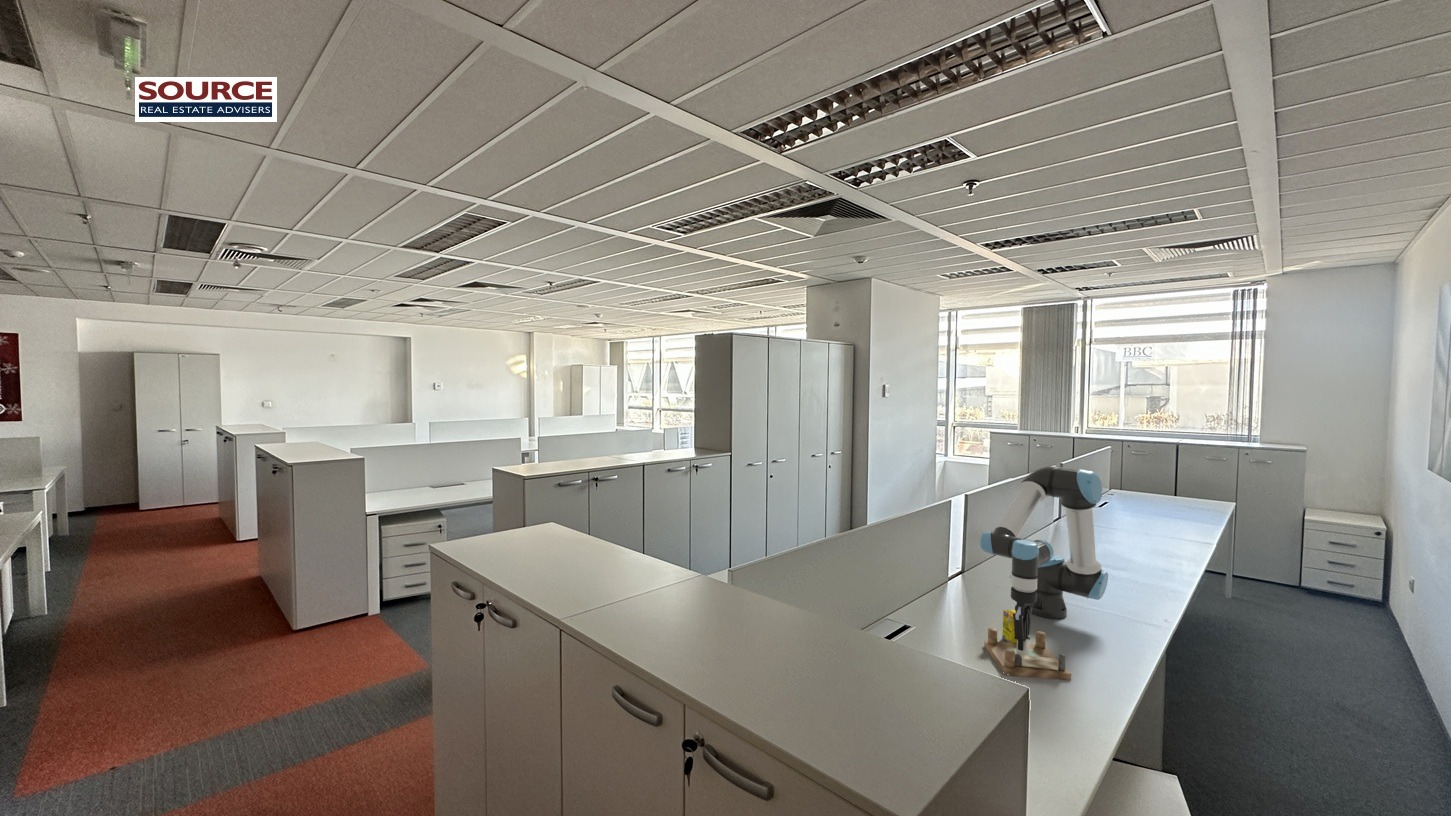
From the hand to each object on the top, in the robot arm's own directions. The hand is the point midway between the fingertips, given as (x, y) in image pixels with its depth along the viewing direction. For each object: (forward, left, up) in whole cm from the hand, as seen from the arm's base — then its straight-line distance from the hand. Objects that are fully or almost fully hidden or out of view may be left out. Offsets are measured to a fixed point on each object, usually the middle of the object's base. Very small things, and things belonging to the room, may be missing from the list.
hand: (1021, 658), depth 186 cm
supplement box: (-5, -19, -4) cm, 20 cm away
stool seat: (-3, -4, -3) cm, 6 cm away
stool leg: (-3, +3, -1) cm, 4 cm away
